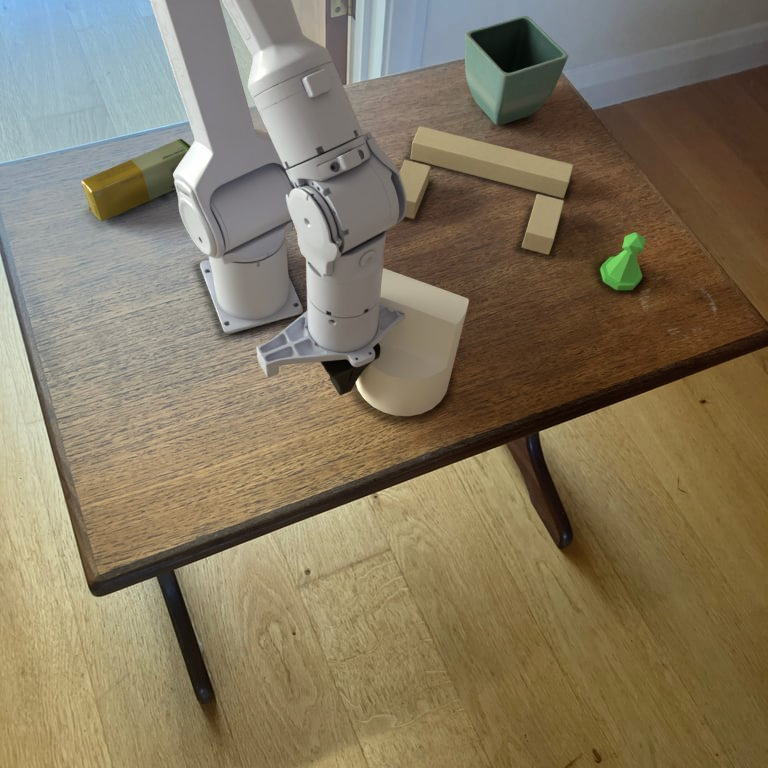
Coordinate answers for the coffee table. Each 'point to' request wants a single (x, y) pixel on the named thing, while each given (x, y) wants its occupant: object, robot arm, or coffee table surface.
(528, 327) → the coffee table surface
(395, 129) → the coffee table surface
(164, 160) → the medication box
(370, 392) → the base with upright slab
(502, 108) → the flower pot
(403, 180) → the bay
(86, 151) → the coffee table surface
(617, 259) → the game piece
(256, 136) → the robot arm
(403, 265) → the coffee table surface
